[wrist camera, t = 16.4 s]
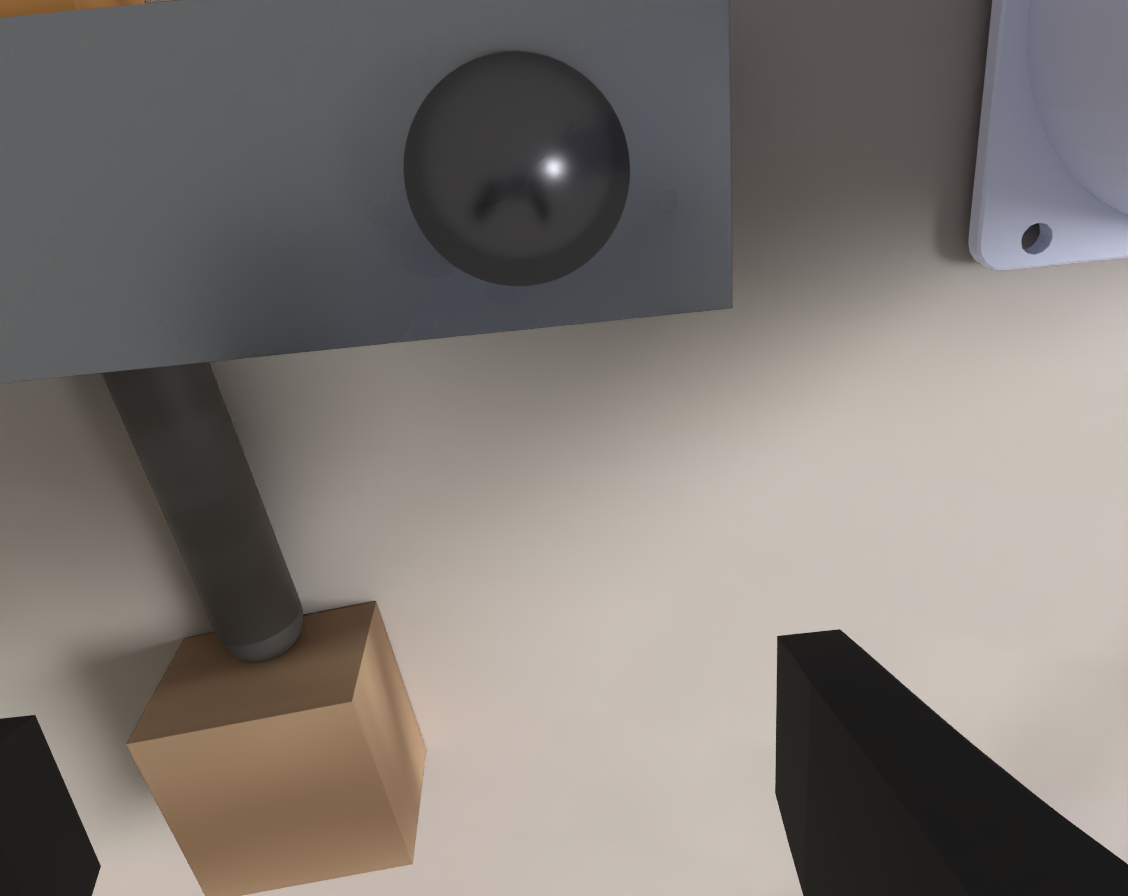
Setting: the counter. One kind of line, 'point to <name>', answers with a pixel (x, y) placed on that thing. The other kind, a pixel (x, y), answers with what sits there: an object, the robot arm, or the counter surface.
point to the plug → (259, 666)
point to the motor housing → (354, 174)
